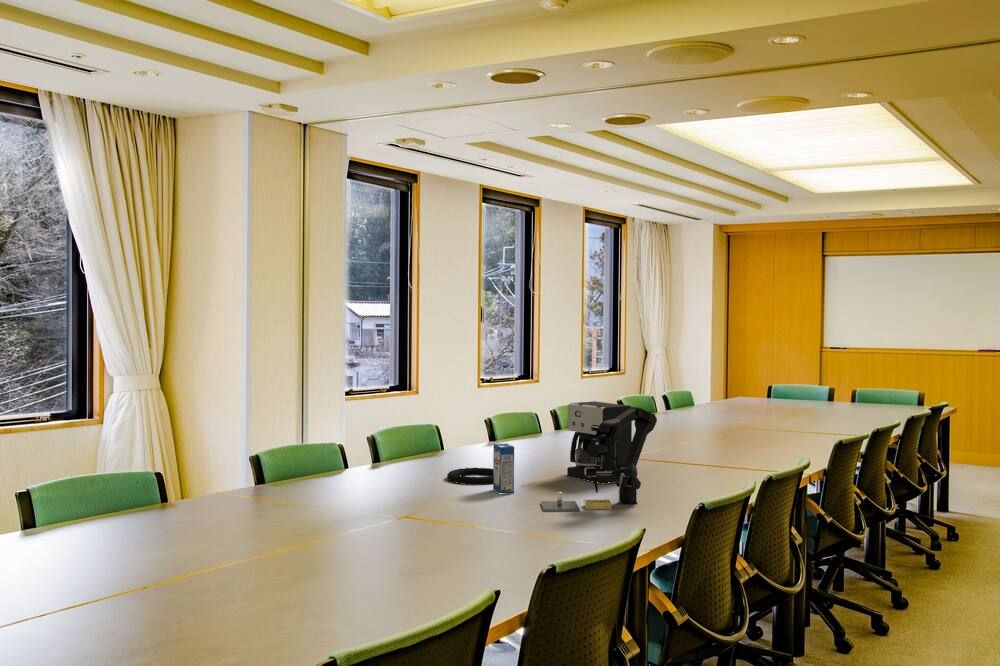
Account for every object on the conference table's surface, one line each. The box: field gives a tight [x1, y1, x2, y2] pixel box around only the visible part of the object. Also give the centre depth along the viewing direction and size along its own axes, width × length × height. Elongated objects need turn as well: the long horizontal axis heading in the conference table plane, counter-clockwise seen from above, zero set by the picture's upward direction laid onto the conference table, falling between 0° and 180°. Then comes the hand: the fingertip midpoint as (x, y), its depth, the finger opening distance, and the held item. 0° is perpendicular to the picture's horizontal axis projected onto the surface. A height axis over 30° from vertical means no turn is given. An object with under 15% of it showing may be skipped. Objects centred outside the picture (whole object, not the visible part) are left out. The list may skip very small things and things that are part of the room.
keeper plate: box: [540, 491, 581, 512], centre depth 341 cm, size 14×14×6 cm
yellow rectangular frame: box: [583, 499, 612, 510], centre depth 342 cm, size 10×6×2 cm, turn 92°
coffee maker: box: [566, 400, 633, 484], centre depth 406 cm, size 28×20×35 cm
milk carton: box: [492, 443, 515, 494], centre depth 371 cm, size 10×6×20 cm, turn 18°
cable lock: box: [446, 467, 493, 485], centre depth 399 cm, size 28×4×30 cm
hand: (608, 493), depth 342 cm, fingers open, 9 cm apart
